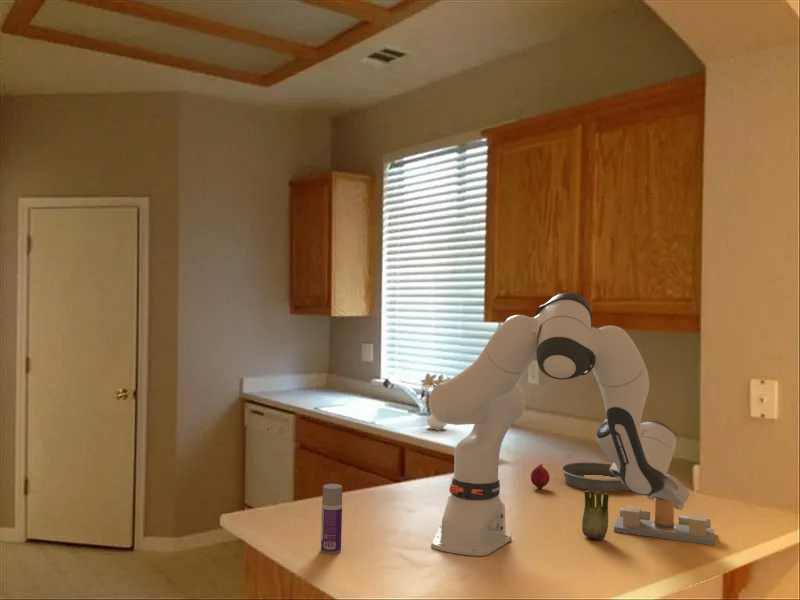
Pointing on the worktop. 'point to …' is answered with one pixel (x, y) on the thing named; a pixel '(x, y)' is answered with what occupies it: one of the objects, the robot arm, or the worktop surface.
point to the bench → (693, 532)
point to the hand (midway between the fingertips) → (666, 502)
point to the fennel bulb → (595, 516)
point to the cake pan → (579, 469)
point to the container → (331, 519)
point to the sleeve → (664, 514)
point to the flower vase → (428, 383)
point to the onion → (540, 476)
